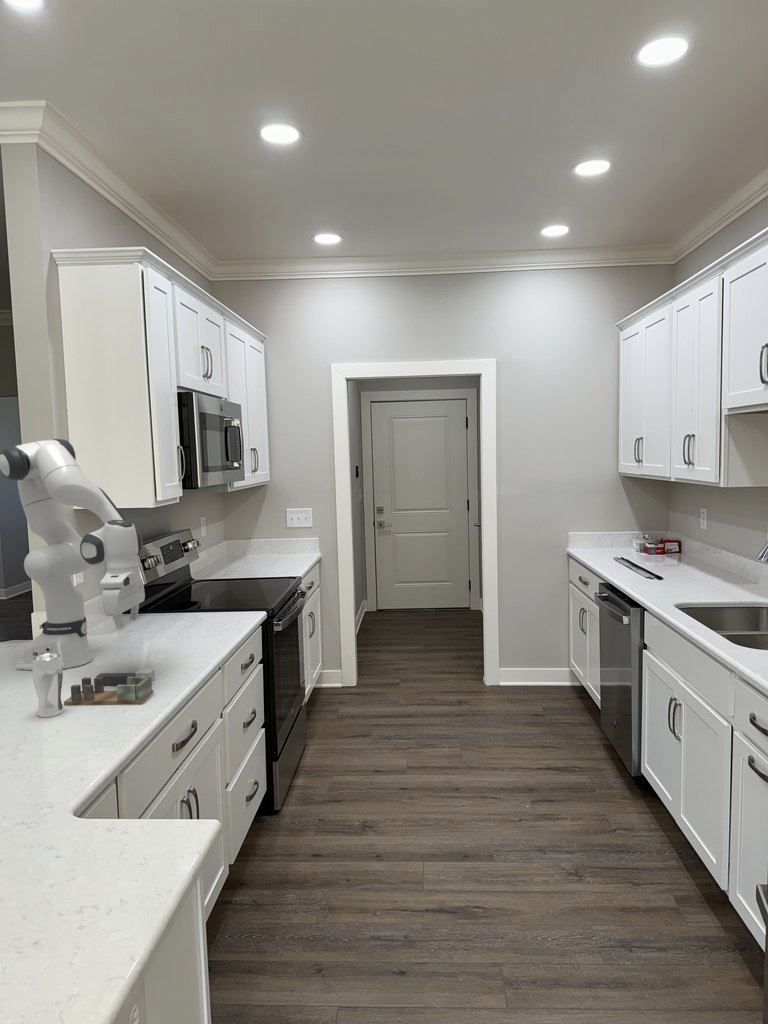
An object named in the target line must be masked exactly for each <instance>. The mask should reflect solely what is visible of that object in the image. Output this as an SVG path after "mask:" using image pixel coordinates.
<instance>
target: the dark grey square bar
mask: <svg viewBox="0 0 768 1024" xmlns="http://www.w3.org/2000/svg"><path fill="white" fill-rule="evenodd" d="M141 676H146V677H147V676H151V682H152V683H153V682H154V681H155V682H156V671H155V668H140V669H139V670H137V672H105V673H98V674H97V675H96V676H95V678H96V677H103V681H104V688H105V687H106V686H109V687H117V686H118V685H127V677H141ZM153 684H154V683H153Z"/></svg>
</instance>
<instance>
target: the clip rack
mask: <svg viewBox="0 0 768 1024" xmlns="http://www.w3.org/2000/svg"><path fill="white" fill-rule="evenodd" d="M152 686H153V684H152V682H151V676H147V677H146V676H141V677H127V685H118V686H116V690H105V687H104V681H103V677H96V676H95V678H93V684H92V677H91V676H89V677H86V676H85V677H82V678H81V684H73V685H71V686H70V695H71V696H70V697H68V698H67V699H65V700H64V701H63V706H104V705H105V706H109V705H110V706H113V705H115V706H117V705H119V706H120V705H124V706H125V704H126V705H143V704H144V703H145V702H146V701H147V700H148V699H149V698H150V697H151V696H152V695H153V694H154V690H153V687H152ZM152 693H153V694H152ZM151 694H152V695H151ZM150 695H151V696H150ZM149 696H150V697H149ZM148 697H149V698H148ZM147 698H148V699H147ZM146 699H147V700H146ZM145 700H146V701H145ZM144 701H145V702H144ZM143 702H144V703H143ZM142 703H143V704H142Z"/></svg>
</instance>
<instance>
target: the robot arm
mask: <svg viewBox="0 0 768 1024" xmlns="http://www.w3.org/2000/svg"><path fill="white" fill-rule="evenodd" d="M76 457H77V456H76V452H75V449H74V447H73V445H72V444H71V443H70V442H69V440H66V439H61V438H54V439H46V440H45V439H44V440H36V441H35V440H34V441H31V442H26V443H22V444H19V445H18V444H17V445H12V446H8V447H5V448H3V449H1V450H0V471H1V474H2V476H4V477H5V478H7V479H8V480H10V481H17V488H18V494H19V499H20V503H21V506H22V509H23V512H24V515H25V518H26V521H27V523H28V525H29V529H30V531H31V532H32V533H33V534H35V535H37V536H38V537H40V538H42V540H44V542H45V543H46V544H47V545H43V546H41V547H38V548H36V549H34V550H32V551H30V552H29V553H28V554H27V555H26V556H25V558H24V562H23V568H24V572H25V573H26V575H27V576H28V577H29V579H31V580H33V581H34V582H35V583H36V584H37V585H38V586H39V588H40V591H41V592H42V595H43V598H44V599H43V600H44V604H45V612H46V621H45V622H42V624H40V625H39V630H41V629H42V632H41V633H40V634H39V635H38V636H37V637H36V638H35V639H33V640H32V641H31V642H30V643H29V644H27V646H26V647H25V648H24V651H23V652H24V653H23V659H22V660H20V661H19V662H17V664H16V666H15V667H16V668H15V669H16V670H22V669H23V671H24V670H25V671H32V664H33V660H32V659H33V658H34V657H35V656H38V655H42V654H47V653H58V654H60V655H61V662H62V669H63V670H65V669H71V668H75V667H78V666H83V665H86V664H88V663H90V662H91V661H93V660H94V657H93V655H92V652H91V649H90V646H89V642H88V641H89V640H88V637H87V636H88V635H87V634H88V626H87V625H88V624H87V617H86V616H85V605H84V601H85V600H84V595H83V593H82V591H80V590H79V589H77V588H76V587H75V586H74V584H73V581H72V578H71V576H74V575H77V574H82V573H83V572H85V571H87V570H88V569H90V568H92V567H93V566H95V565H96V566H97V565H99V566H100V565H104V564H106V573H105V575H104V577H102V579H101V580H100V582H99V586H100V589H102V594H101V595H102V597H101V598H102V607H103V613H104V614H105V616H107V617H112V619H113V621H114V623H115V629H116V630H122V629H123V628H125V621H124V620H123V618H122V617H123V613H124V612H127V611H128V610H130V614H129V620H130V621H133V622H134V621H136V620H138V615H139V614H138V613H139V609H140V604H141V603H143V602H144V601H145V598H146V593H145V592H146V591H145V585H144V580H143V578H141V571H140V570H141V569H140V567H141V566H140V562H139V560H138V559H139V558H138V557H139V555H140V554H141V552H142V550H143V547H144V542H143V538H142V536H141V534H140V532H139V531H138V530H137V529H136V527H135V524H134V523H133V522H131V520H127V519H126V518H125V516H124V515H123V513H121V511H120V510H119V508H118V507H117V506H116V504H114V503H115V502H113V501H112V499H111V498H110V497H109V495H108V494H107V493H106V492H105V491H104V490H103V489H102V488H100V486H97V485H96V484H95V483H93V482H92V481H91V480H90V479H89V478H88V477H87V476H86V475H85V473H84V472H83V471H82V469H81V467H80V465H79V464H78V462H77V461H76V459H77V458H76ZM63 505H66V506H71V507H78V508H82V509H84V510H87V511H90V512H91V513H94V514H95V515H96V516H97V517H98V518H99V519H100V521H102V524H104V525H103V526H102V527H101V528H99V529H97V530H95V531H93V532H89V533H86V534H85V535H84V536H83V537H82V536H81V535H79V534H78V532H77V531H76V530H75V528H74V527H73V525H72V523H70V521H69V519H68V516H67V514H66V511H65V508H64V506H63Z"/></svg>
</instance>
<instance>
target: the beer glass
mask: <svg viewBox="0 0 768 1024" xmlns="http://www.w3.org/2000/svg"><path fill="white" fill-rule="evenodd" d="M32 660H33V664H32V670H31V671H32V681H33V685H34V689H35V692H36V695H37V701H38V706H37V716H38V717H39V718H51V717H55V716H58V715H60V714H62V713H63V712H64V705H63V704H62V688H63V678H64V677H63V675H64V674H63V670H64V669H62V662H61V655H60V654H58V653H47V654H42V655H38V656H35V657H34V658H33V659H32Z"/></svg>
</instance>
